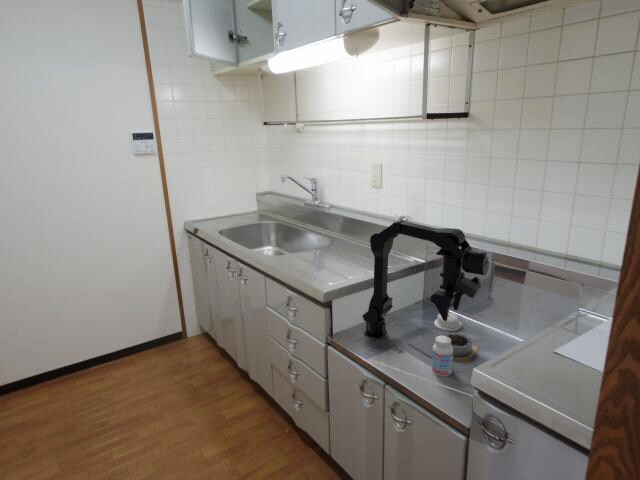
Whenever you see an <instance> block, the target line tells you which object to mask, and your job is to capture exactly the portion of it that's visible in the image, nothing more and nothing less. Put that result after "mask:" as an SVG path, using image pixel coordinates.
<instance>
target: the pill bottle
mask: <svg viewBox="0 0 640 480" xmlns="http://www.w3.org/2000/svg"><path fill="white" fill-rule="evenodd" d="M432 351H433V352H432ZM432 351H431V353H432V354H431V356H432V357H431V370H432V373H433V374H434V375H438V376H440V377H447V376H450V375H451V374H452V373H453V361H454V359H453V348H452V346H451V339H450V338H449V337H447V336H443V335H438V336H436V337H435V338H434V344H433V346H432Z"/></svg>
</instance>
